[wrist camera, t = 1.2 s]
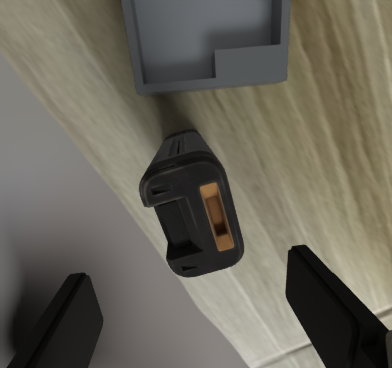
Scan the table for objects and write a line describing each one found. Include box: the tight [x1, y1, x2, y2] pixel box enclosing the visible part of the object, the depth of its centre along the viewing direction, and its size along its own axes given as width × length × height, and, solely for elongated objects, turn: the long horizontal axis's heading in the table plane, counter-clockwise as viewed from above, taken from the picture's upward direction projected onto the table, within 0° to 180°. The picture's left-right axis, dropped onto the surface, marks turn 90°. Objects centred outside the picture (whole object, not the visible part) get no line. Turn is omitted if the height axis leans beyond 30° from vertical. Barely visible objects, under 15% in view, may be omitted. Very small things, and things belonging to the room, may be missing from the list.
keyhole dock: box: [121, 0, 291, 96], centre depth 25 cm, size 19×19×4 cm
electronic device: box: [139, 129, 244, 277], centre depth 24 cm, size 9×6×20 cm, turn 16°
